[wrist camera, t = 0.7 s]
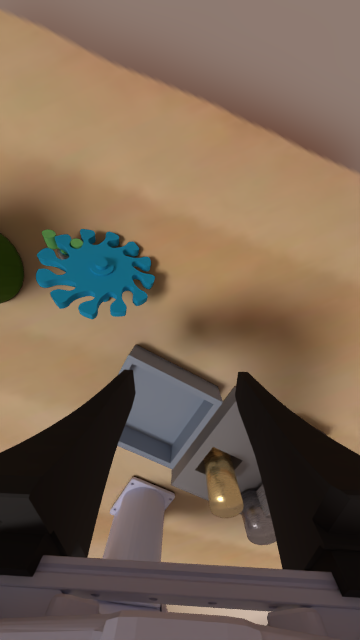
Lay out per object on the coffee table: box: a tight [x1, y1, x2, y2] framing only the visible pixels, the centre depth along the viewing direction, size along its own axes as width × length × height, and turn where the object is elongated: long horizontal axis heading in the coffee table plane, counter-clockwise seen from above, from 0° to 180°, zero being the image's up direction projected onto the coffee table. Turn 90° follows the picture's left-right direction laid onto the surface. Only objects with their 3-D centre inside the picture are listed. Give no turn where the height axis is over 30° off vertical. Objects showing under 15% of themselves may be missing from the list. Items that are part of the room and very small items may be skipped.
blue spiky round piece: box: [36, 229, 155, 319], centre depth 18 cm, size 11×6×10 cm
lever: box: [241, 485, 276, 545], centre depth 22 cm, size 16×5×4 cm, turn 151°
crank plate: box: [171, 387, 326, 515], centre depth 25 cm, size 18×16×2 cm
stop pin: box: [204, 447, 244, 518], centre depth 23 cm, size 4×4×6 cm
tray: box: [117, 345, 223, 469], centre depth 22 cm, size 13×13×3 cm
